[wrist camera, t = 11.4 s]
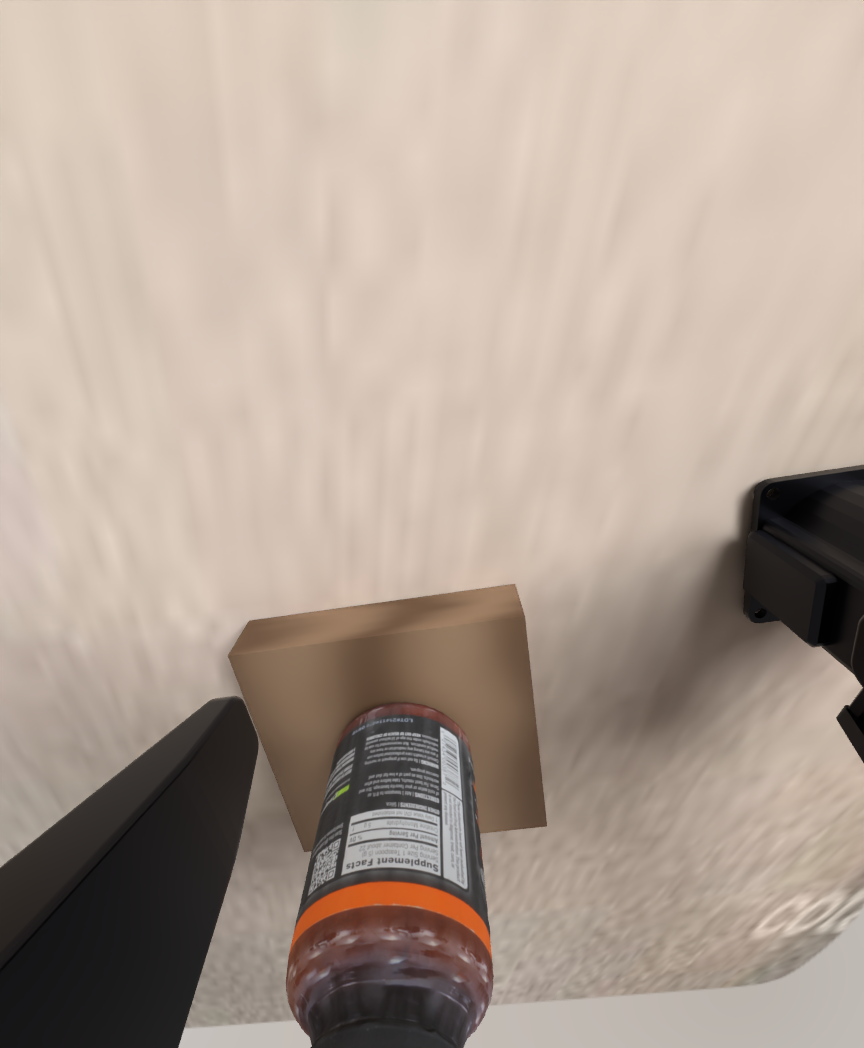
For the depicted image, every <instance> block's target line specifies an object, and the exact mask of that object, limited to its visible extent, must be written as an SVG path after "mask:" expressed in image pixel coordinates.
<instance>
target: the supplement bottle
mask: <svg viewBox="0 0 864 1048" xmlns="http://www.w3.org/2000/svg"><path fill="white" fill-rule="evenodd" d="M492 969H493V964H492V956H491V945H490V926H489V922H488V915H487V901H486V894H485V880H484V870H483V861H482V849H481V841H480V830H479V822H478V808H477V799H476V790H475V776H474V768H473V761H472V755H471V750H470V745H469V742H468V740H467V738H466V735H465V733H464V731H463V730H462V729H461V728H460V727H459V725H458V724H457V723H456V722H455V721H453V720H452V719H451V718H449V717H448V716H447V715H445V714H444V713H442V712H440V711H438V710H436V709H435V708H431V707H429V706H426V705H422V704H415V703H406V702H403V703H390V704H383V705H380V706H377V707H375V708H373V709H370V710H368V711H366V712H364V713H362V714H361V715H359V716H358V717H356V718H355V719H354V720H353V721H352V722H351V723H350V724H349V725H348V726H347V727H346V729H345V730H344V731H343V733H342V735H341V737H340V739H339V741H338V744H337V747H336V751H335V754H334V757H333V762H332V766H331V771H330V775H329V779H328V783H327V788H326V792H325V797H324V802H323V805H322V809H321V815H320V819H319V824H318V828H317V832H316V837H315V841H314V845H313V850H312V854H311V859H310V863H309V868H308V872H307V877H306V881H305V886H304V890H303V894H302V899H301V904H300V908H299V912H298V917H297V920H296V926H295V931H294V935H293V940H292V944H291V949H290V953H289V960H288V968H287V977H286V991H287V996H288V1002H289V1005H290V1008H291V1010H292V1012H293V1015H294V1017H295V1019H296V1021H297V1022H298V1023H299V1025H300V1026H301V1028H302V1029H303V1030H304V1032H305V1033H306V1034H307V1035H308V1036H309V1037H310V1040H311V1044H312V1047H311V1048H463V1047H464V1044H465V1042H466V1040H467V1038H468V1037H470V1035H471V1034H472V1033H473V1032H475V1030H476V1029H477V1027H478V1026H479V1024H480V1023H481V1021H482V1019H483V1018H484V1016H485V1012H486V1010H487V1008H488V1005H489V1003H490V1001H491V996H492V989H493V977H494V976H493V970H492Z"/></svg>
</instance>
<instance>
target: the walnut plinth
mask: <svg viewBox="0 0 864 1048" xmlns="http://www.w3.org/2000/svg"><path fill="white" fill-rule="evenodd" d="M228 658H229V660H230V663H231V665H232V668H233V670H234V673H235V675H236V678H237V681H238V683H239V686H240V688H241V691H242V693H243V696H244V699H245V701H246V704H247V706H248V709H249V711H250V714H251V716H252V719H253V722H254V724H255V727H256V729H257V732H258V734H259V737H260V739H261V742H262V745H263V747H264V750H265V752H266V755H267V757H268V760H269V762H270V765H271V768H272V770H273V773H274V775H275V778H276V780H277V783H278V785H279V788H280V791H281V793H282V796H283V798H284V801H285V803H286V806H287V809H288V811H289V814H290V816H291V819H292V821H293V824H294V826H295V829H296V832H297V834H298V837H299V839H300V842H301V844H302V847H303V849H304V852H309V851H312V850H313V845H314V841H315V837H316V832H317V828H318V824H319V819H320V815H321V809H322V805H323V802H324V797H325V792H326V788H327V783H328V779H329V775H330V771H331V766H332V762H333V757H334V754H335V751H336V747H337V744H338V741H339V739H340V737H341V735H342V733H343V731H344V730H345V729H346V727H347V726H348V725H349V724H350V723H351V722H352V721H353V720H354V719H355V718H356V717H358V716H359V715H361V714H362V713H364V712H366V711H368V710H370V709H373V708H375V707H377V706H380V705H383V704H390V703H403V702H406V703H415V704H422V705H426V706H429V707H431V708H435V709H436V710H438V711H440V712H442V713H444V714H445V715H447V716H448V717H449V718H451V719H452V720H453V721H455V722H456V723H457V724H458V725H459V727H460V728H461V729H462V730H463V731H464V733H465V735H466V738H467V740H468V742H469V745H470V750H471V755H472V761H473V768H474V776H475V790H476V799H477V808H478V822H479V830H480V833H488V832H497V831H507V830H516V829H526V828H535V827H545V826H547V822H546V812H545V803H544V793H543V784H542V774H541V765H540V756H539V746H538V737H537V727H536V718H535V708H534V699H533V689H532V680H531V670H530V661H529V651H528V642H527V632H526V623H525V615H524V612H523V609H522V605H521V602H520V599H519V595H518V592H517V589H516V586H515V584H512V585H505V586H498V587H491V588H483V589H476V590H469V591H462V592H454V593H447V594H440V595H433V596H426V597H418V598H411V599H404V600H397V601H389V602H382V603H375V604H368V605H361V606H353V607H346V608H339V609H332V610H324V611H317V612H310V613H303V614H295V615H288V616H281V617H274V618H267V619H259V620H252V621H249V622H248V624H247V625H246V627H245V629H244V630H243V632H242V634H241V635H240V637H239V638H238V640H237V642H236V643H235V645H234V647H233V648H232V650H231V652H230V653H229V655H228Z"/></svg>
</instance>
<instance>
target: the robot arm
mask: <svg viewBox="0 0 864 1048" xmlns="http://www.w3.org/2000/svg"><path fill="white" fill-rule="evenodd" d="M773 488H774V491H773V493H772V494H771V495H770V496H768V497H767V493H768V491H769V490H770V489H773ZM743 588H744V589H745V597H744V608H743V611H744V614H745V615H746V617H747V618H749V619H750V620H751V621H752V622H754V623H764V622H772V621H779V620H780V621H782V622H783V623H784V624H785V625H786V626H787V627H788V628H790V629H791V630H792V631H793V632H794V633H795V634H796V635H798V636H799V637H800V638H801V639H802V640H803V641H804V642H806V643H807V644H808V645H810V646H811V647H820V646H821V647H822V648H824V649H825V650H826V651H827V652H828V653H829V654H831V655H832V656H833V657H834V658H835V659H836V660H838V661H839V662H840V663H841V664H842V665H844V666H845V667H846V668H847V669H848V670H849V671H851V672H852V673H853V674H854V675H855V677H856V678H857V680H858V681H859V683H860V684H861V685H862V687H863V688H862V690H861V691H860V692H859V694H858V695H857V696H856V698H855V699H854V700H853V702H852V703H851V705H850V706H849V705H845V706H844V708H843V709H842V711H841V712H840V713H839V715H838V716H837V717H836V718H837V721H838V722H839V724H840V725H841V727H842V729H843V730H844V732H845V734H846V735H847V737H848V738H849V740H850V742H851V743H852V745H853V746H854V748H855V750H856V751H857V753H858V755H859V756H860V758H861V759H862V761H863V763H864V465H859V466H853V467H846V468H839V469H832V470H825V471H819V472H812V473H805V474H798V475H792V476H785V477H778V478H771V479H767V480H764V481H762V482H761V483H759V484H758V486H757V487H756V489H755V492H754V501H753V511H752V522H751V532H750V534H749V536H748V538H747V549H746V560H745V571H744V581H743ZM760 608H761V609H760ZM758 609H760V611H759V612H757V613H755V612H756V611H757V610H758ZM257 755H258V737H257V734H256V731H255V729H254V726H253V724H252V721H251V719H250V716H249V714H248V711H247V708H246V706H245V704H244V702H243V700H242V699H241V698H240V697H237V696H231V697H223V698H216V699H212V700H210V701H209V702H207V703H206V704H205V705H204V706H202V707H201V708H200V709H199V710H197V711H196V712H195V713H194V714H192V715H191V716H190V717H189V718H187V719H186V720H185V721H184V722H182V723H181V724H180V725H179V726H177V727H176V728H175V729H174V730H172V731H171V732H170V733H169V734H167V735H166V736H165V737H164V738H162V739H161V740H160V741H158V742H157V743H156V744H155V745H153V746H152V747H151V748H150V749H148V750H147V751H146V752H145V753H143V754H142V755H141V756H140V757H138V758H137V759H136V760H135V761H133V762H132V763H131V764H130V765H128V766H127V767H126V768H125V769H123V770H122V771H121V772H120V773H118V774H117V775H116V776H115V777H113V778H112V779H111V780H110V781H108V782H107V783H106V784H105V785H103V786H102V787H101V788H100V789H98V790H97V791H96V792H95V793H93V794H92V795H91V796H89V797H88V798H87V799H86V800H84V801H83V802H82V803H81V804H79V805H78V806H77V807H76V808H74V809H73V810H72V811H71V812H69V813H68V814H67V815H66V816H64V817H63V818H62V819H61V820H59V821H58V822H57V823H56V824H54V825H53V826H52V827H51V828H49V829H48V830H47V831H46V832H44V833H43V834H42V835H41V836H39V837H38V838H37V839H36V840H34V841H33V842H32V843H31V844H29V845H28V846H27V847H25V848H24V849H23V850H22V851H20V852H19V853H18V854H17V855H15V856H14V857H13V858H12V859H10V860H9V861H8V862H7V863H5V864H4V865H3V866H2V867H0V1048H178V1047H179V1043H180V1040H181V1037H182V1033H183V1030H184V1027H185V1024H186V1020H187V1017H188V1014H189V1011H190V1007H191V1004H192V1001H193V998H194V994H195V991H196V988H197V985H198V981H199V978H200V975H201V971H202V968H203V965H204V962H205V958H206V955H207V952H208V949H209V945H210V942H211V939H212V936H213V932H214V929H215V926H216V923H217V919H218V916H219V913H220V909H221V906H222V903H223V900H224V896H225V893H226V890H227V887H228V883H229V880H230V877H231V873H232V870H233V866H234V863H235V859H236V855H237V851H238V847H239V842H240V838H241V833H242V828H243V823H244V818H245V813H246V808H247V803H248V799H249V794H250V789H251V784H252V779H253V774H254V769H255V764H256V759H257Z"/></svg>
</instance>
